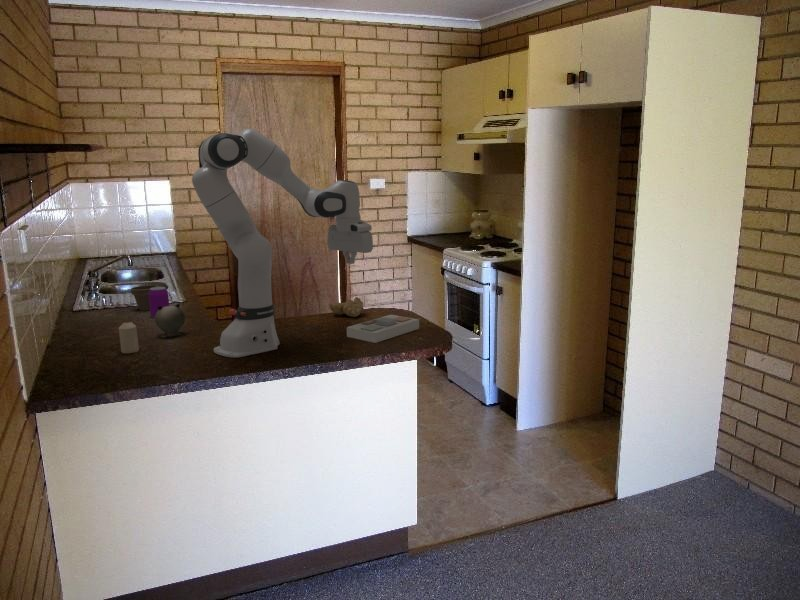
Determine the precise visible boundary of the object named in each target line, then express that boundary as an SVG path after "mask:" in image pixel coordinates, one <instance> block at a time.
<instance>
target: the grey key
mask: <svg viewBox="0 0 800 600" xmlns="http://www.w3.org/2000/svg"><path fill="white" fill-rule="evenodd" d="M395 324H396V319H391V318H383V319H379V320H377V325H380V326H385V327H389V326H392V325H395Z"/></svg>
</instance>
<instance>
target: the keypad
mask: <svg viewBox="0 0 800 600" xmlns="http://www.w3.org/2000/svg"><path fill="white" fill-rule="evenodd" d="M397 317H403V316H400V315H395V314H388V315H385V316H381V317H378V318H374V319H370V320H367V321H364V322H360V323H357V324H353V325H350V326H346V337H347V338H351V339H355V340H360V341H364V342H369V343H373V344H377V343H379V342H382V341H385V340H389V339H392V338H395V337H398V336H401V335H405V334H407V333H410V332H413V331H417V330H420V319H418V318H413V317H406V316H404V317H405V318H410V320H408V321H405V322H396V324H395V325H392V326H389V327H385V326H380V325H377V320H379V319H383V318H391V319H394V318H397ZM370 325H372V326H378V327H381V328H382V329H379V330H376V331H373V332H371V331H366V330H362V328H364V327H367V326H370Z"/></svg>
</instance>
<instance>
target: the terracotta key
mask: <svg viewBox="0 0 800 600" xmlns="http://www.w3.org/2000/svg"><path fill="white" fill-rule="evenodd" d="M405 317H406V316H402V317H397V318H394V319H396V322H405V321H408V320H410V318H411V317H408V318H405Z"/></svg>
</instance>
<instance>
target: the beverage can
mask: <svg viewBox="0 0 800 600" xmlns="http://www.w3.org/2000/svg"><path fill="white" fill-rule="evenodd" d="M148 295H149V304H150V310H149V313H150V316H152V318H155V316H156V313H157V311H158V310H159V309H158V306H161V307H165V306H170V300H169V299H170V298H169V292H168V290H167V287H166V286H158V287H152V288H150V290H149V294H148Z"/></svg>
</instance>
